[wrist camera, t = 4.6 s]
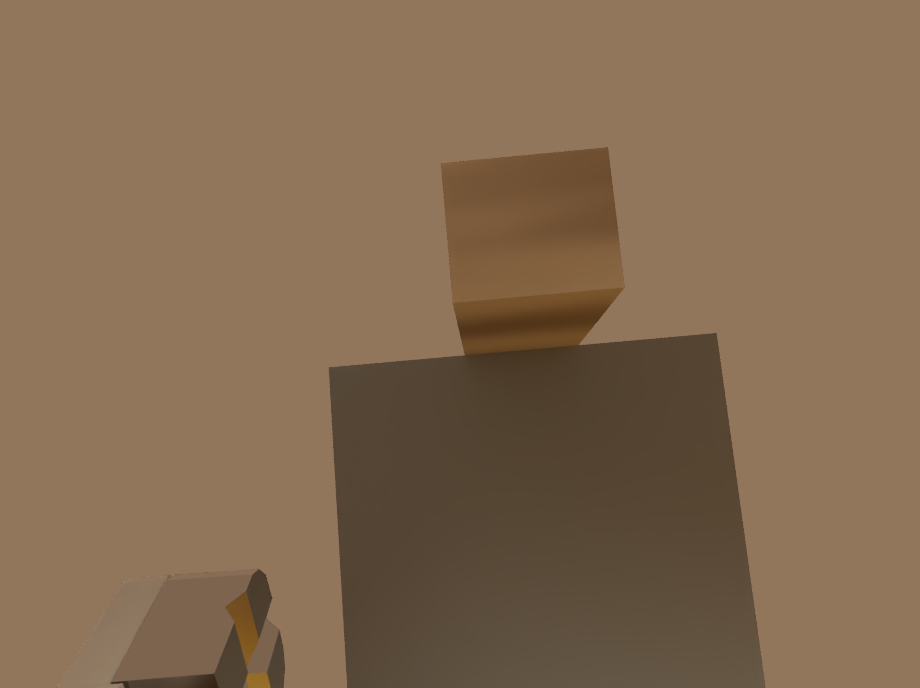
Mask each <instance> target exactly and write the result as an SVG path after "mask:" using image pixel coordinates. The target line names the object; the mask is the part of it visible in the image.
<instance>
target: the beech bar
mask: <svg viewBox="0 0 920 688" xmlns="http://www.w3.org/2000/svg"><path fill="white" fill-rule="evenodd" d="M441 169H442V181H443V193H444V205H445V217H446V228H447V240H448V253H449V265H450V277H451V288H452V300H453V306H454V310H455V314H456V319H457V323H458V327H459V332H460V336H461V340H462V345H463V349H464V353H465V355H476V354H487V353H498V352H510V351H521V350H532V349H544V348H555V347H566V346H577V345H579V344H580V342H581V341H582V340H583V339H584V337H585V336H586V335H587V333H588V332H589V331H590V330H591V329H592V327H593V326H594V325H595V324H596V322H597V321H598V320H599V319H600V318H601V316H602V315H603V314H604V313H605V311H606V310H607V309H608V307H609V306H610V305H611V304H612V303H613V301H614V300H615V299H616V298H617V296H618V295H619V294H620V293H621V291H622V290H623V289H624V287H625V285H624V277H623V268H622V260H621V253H620V243H619V235H618V227H617V219H616V210H615V202H614V194H613V185H612V177H611V170H610V160H609V152H608V147H607V148H597V149H586V150H575V151H565V152H554V153H545V154H544V153H543V154H534V155H523V156H512V157H502V158H491V159H480V160H470V161H459V162H449V163H441Z"/></svg>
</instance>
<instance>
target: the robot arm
mask: <svg viewBox="0 0 920 688" xmlns="http://www.w3.org/2000/svg"><path fill="white" fill-rule="evenodd" d="M271 600H272V596H271V593H270V589H269V585H268V581H267V578H266V575H265V574H264V573H263V572H262V571H261V570H259V569H252V570H237V571H221V572H205V573H189V574H175V575H173V576H171V575H163V576H151V577H138V578H131V579H129V580H127V581H125V582H124V583H122V584H121V585H120V586H119V588H118V589H117V591H116V592H115V594H114V596H113V597H112V599H111V600H110V602H109V604H108V605H107V607H106V608H105V610H104V612H103V613H102V615H101V617H100V618H99V620H98V621H97V623H96V625H95V626H94V628H93V629H92V631H91V632H90V634H89V636H88V637H87V639H86V640H85V642H84V643H83V645H82V647H81V648H80V650H79V651H78V653H77V655H76V656H75V658H74V660H73V661H72V663H71V664H70V666H69V667H68V669H67V671H66V672H65V674H64V675H63V677H62V679H61V680H60V682H59V683H58V685H57V687H56V688H283V687H284V686H283V685H284V673H285V663H284V651H283V644H282V639H281V635H280V630H279V629H278V628H277V627H276V626H275V625H273V624H272V623H271V622H270V621H269V620H268V619H266V616H267V613H268V610H269V607H270V603H271Z"/></svg>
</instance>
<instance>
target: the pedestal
mask: <svg viewBox="0 0 920 688" xmlns="http://www.w3.org/2000/svg"><path fill="white" fill-rule="evenodd" d="M329 378H330V395H331V412H332V429H333V448H334V464H335V480H336V500H337V515H338V534H339V551H340V569H341V585H342V601H343V602H342V603H343V619H344V637H345V654H346V672H347V688H765V680H764V674H763V666H762V659H761V652H760V644H759V637H758V630H757V622H756V615H755V608H754V601H753V595H752V587H751V579H750V572H749V565H748V557H747V551H746V544H745V536H744V528H743V521H742V514H741V507H740V500H739V493H738V485H737V478H736V471H735V464H734V456H733V449H732V442H731V434H730V427H729V420H728V413H727V405H726V398H725V391H724V384H723V377H722V369H721V362H720V355H719V347H718V340H717V334H716V333H713V334H702V335H692V336H691V335H690V336H679V337H668V338H656V339H646V340H634V341H623V342H611V343H600V344H590V345H577V346H566V347H555V348H544V349H532V350H521V351H510V352H498V353H487V354H476V355H464V356H454V357H442V358H430V359H420V360H408V361H397V362H386V363H374V364H363V365H352V366H340V367H329Z"/></svg>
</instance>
